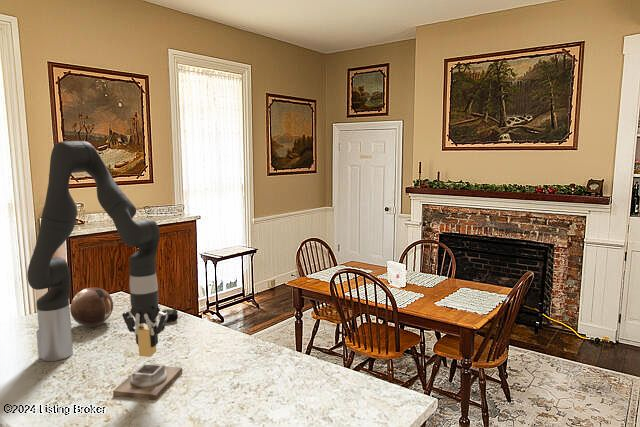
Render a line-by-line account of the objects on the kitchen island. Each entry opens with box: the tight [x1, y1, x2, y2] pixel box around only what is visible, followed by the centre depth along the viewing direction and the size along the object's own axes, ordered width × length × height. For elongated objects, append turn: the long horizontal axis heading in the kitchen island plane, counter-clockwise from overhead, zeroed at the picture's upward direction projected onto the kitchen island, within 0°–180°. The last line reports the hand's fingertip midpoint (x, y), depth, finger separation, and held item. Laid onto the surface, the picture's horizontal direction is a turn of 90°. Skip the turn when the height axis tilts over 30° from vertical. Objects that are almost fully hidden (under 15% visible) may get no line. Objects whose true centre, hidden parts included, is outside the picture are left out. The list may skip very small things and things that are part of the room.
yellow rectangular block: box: [137, 324, 157, 358], centre depth 134 cm, size 4×4×8 cm
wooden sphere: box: [69, 286, 114, 328], centre depth 179 cm, size 15×15×15 cm
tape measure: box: [161, 308, 179, 323], centre depth 185 cm, size 7×7×4 cm
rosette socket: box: [112, 362, 183, 401], centre depth 135 cm, size 13×16×4 cm
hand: (147, 345), depth 134 cm, fingers closed on yellow rectangular block, 3 cm apart
